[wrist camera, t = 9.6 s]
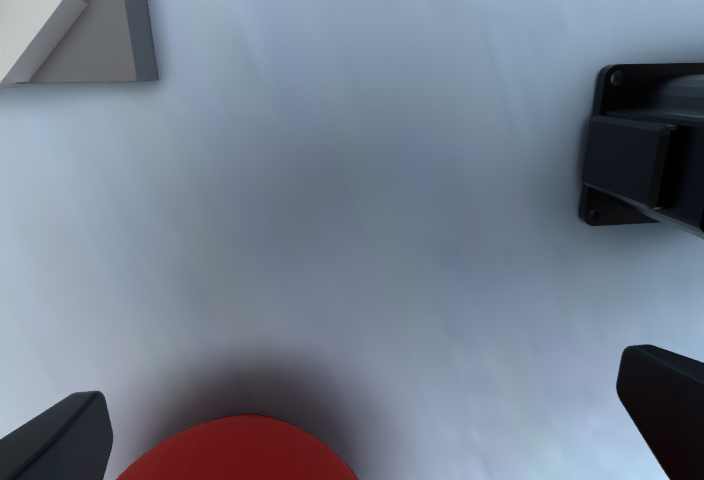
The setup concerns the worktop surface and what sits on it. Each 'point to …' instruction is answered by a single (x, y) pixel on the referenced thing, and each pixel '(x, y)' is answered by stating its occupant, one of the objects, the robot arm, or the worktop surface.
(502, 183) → the worktop surface
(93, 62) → the camera body mount
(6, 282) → the worktop surface
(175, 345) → the worktop surface
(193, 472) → the ceramic cup
